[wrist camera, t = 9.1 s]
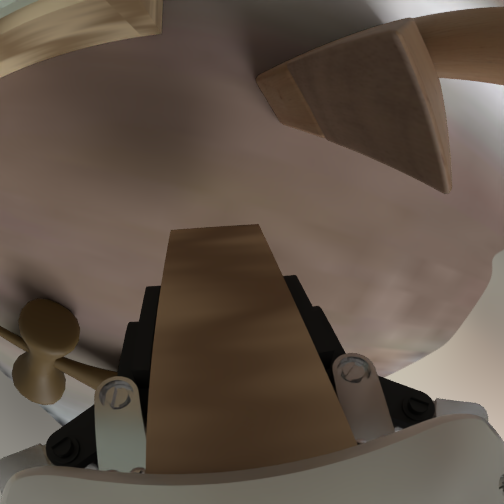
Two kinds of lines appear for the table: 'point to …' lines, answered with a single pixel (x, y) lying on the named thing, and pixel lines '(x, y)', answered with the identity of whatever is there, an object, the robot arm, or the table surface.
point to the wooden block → (390, 87)
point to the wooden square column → (234, 362)
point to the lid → (12, 6)
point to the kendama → (49, 352)
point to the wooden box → (72, 28)
